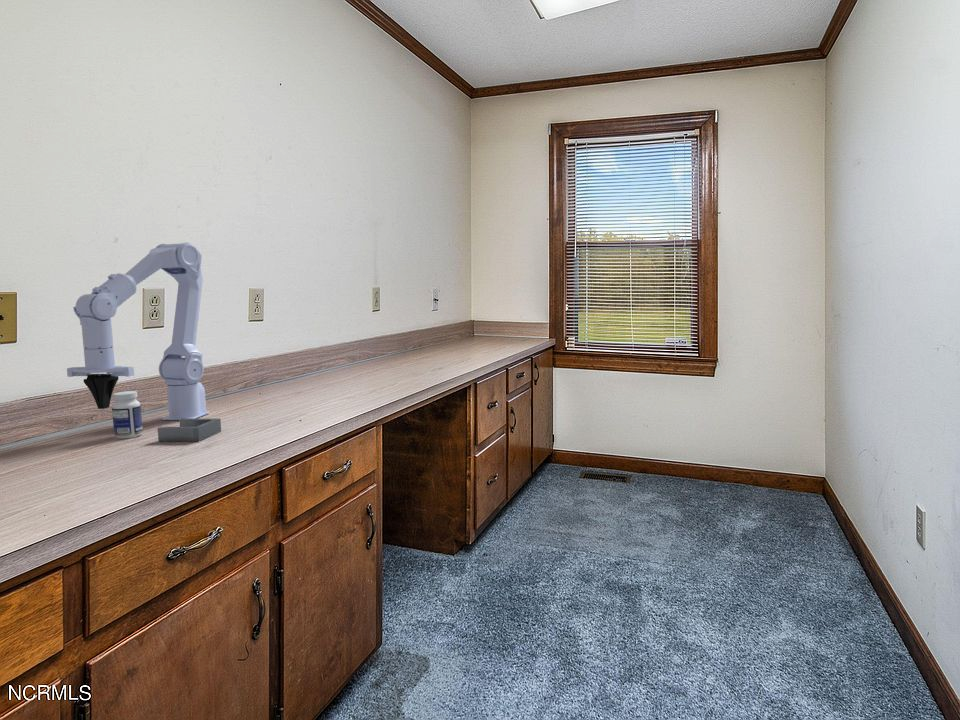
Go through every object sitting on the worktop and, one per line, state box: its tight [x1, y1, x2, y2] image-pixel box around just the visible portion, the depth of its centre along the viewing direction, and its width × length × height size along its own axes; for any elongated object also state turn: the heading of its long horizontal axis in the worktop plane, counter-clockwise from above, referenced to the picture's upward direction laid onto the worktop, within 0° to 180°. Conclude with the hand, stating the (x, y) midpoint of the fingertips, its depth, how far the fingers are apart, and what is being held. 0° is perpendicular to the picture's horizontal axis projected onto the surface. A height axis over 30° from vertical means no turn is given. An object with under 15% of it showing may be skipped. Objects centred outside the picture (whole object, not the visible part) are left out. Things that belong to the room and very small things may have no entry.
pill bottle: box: [111, 390, 144, 440], centre depth 145 cm, size 6×6×10 cm
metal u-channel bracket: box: [157, 418, 222, 443], centre depth 144 cm, size 10×9×3 cm
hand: (103, 408), depth 145 cm, fingers closed
